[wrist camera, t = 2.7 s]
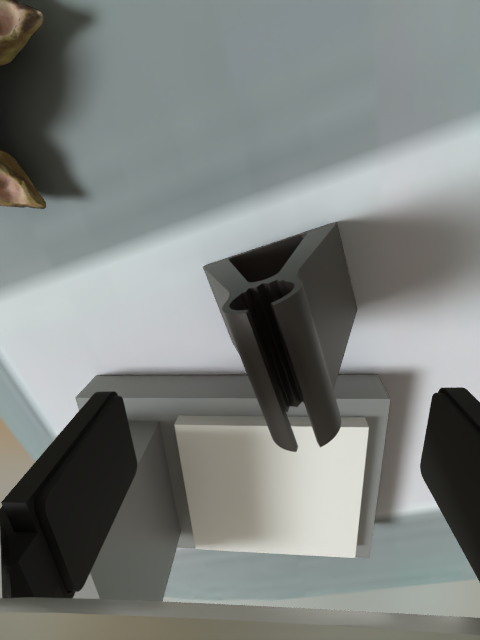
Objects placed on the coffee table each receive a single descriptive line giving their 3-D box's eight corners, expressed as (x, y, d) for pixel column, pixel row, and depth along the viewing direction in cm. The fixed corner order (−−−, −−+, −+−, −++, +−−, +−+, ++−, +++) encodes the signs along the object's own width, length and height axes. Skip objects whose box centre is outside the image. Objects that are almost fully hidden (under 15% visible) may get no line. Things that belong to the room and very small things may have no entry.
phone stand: (336, 221, 21) (408, 266, 9) (355, 307, 23) (434, 427, 11) (203, 264, 22) (135, 343, 11) (232, 340, 24) (198, 470, 13)
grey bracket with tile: (377, 374, 24) (477, 559, 12) (360, 524, 30) (417, 745, 18) (95, 375, 27) (-49, 531, 15) (132, 513, 33) (51, 703, 21)
